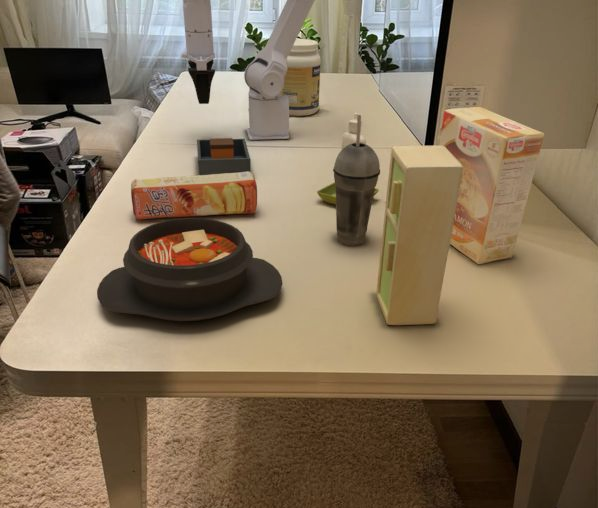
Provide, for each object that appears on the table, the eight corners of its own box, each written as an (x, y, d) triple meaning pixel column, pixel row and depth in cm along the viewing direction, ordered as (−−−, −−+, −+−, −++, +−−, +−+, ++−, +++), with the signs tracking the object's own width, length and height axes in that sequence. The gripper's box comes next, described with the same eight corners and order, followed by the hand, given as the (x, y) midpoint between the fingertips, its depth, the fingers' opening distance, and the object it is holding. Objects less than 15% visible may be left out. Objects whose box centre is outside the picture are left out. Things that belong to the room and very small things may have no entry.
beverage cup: (377, 234, 100) (391, 109, 88) (367, 252, 95) (380, 122, 83) (335, 227, 102) (343, 104, 90) (323, 244, 96) (330, 116, 85)
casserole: (94, 342, 73) (81, 282, 68) (104, 270, 88) (93, 216, 83) (293, 324, 78) (294, 267, 73) (271, 258, 92) (270, 206, 87)
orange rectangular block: (233, 162, 126) (232, 138, 123) (234, 168, 123) (233, 144, 120) (211, 162, 125) (209, 138, 122) (211, 169, 122) (210, 144, 119)
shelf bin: (245, 156, 130) (244, 138, 128) (250, 178, 120) (250, 158, 117) (198, 158, 129) (196, 139, 127) (199, 180, 118) (197, 160, 116)
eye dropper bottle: (360, 169, 126) (365, 109, 118) (363, 178, 121) (369, 117, 114) (339, 169, 125) (343, 109, 118) (342, 178, 121) (346, 117, 114)
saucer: (340, 188, 116) (340, 178, 115) (379, 199, 112) (380, 189, 111) (315, 202, 111) (315, 191, 109) (355, 214, 107) (356, 203, 105)
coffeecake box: (423, 226, 103) (442, 108, 91) (458, 220, 105) (480, 105, 94) (477, 265, 92) (506, 137, 80) (513, 258, 94) (547, 132, 83)
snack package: (134, 224, 101) (128, 185, 97) (135, 208, 106) (130, 171, 102) (258, 217, 104) (257, 180, 100) (254, 203, 110) (253, 166, 106)
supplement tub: (319, 117, 157) (322, 46, 147) (273, 116, 157) (272, 44, 147) (318, 105, 167) (321, 38, 157) (275, 104, 166) (275, 36, 156)
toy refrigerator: (369, 294, 84) (386, 144, 72) (420, 293, 85) (445, 144, 72) (380, 326, 78) (400, 167, 65) (435, 325, 78) (466, 167, 66)
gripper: (179, 25, 130) (185, 91, 138) (179, 36, 118) (185, 107, 126) (212, 25, 131) (215, 90, 139) (214, 36, 119) (218, 107, 127)
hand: (203, 99), depth 133 cm, fingers open, 7 cm apart
